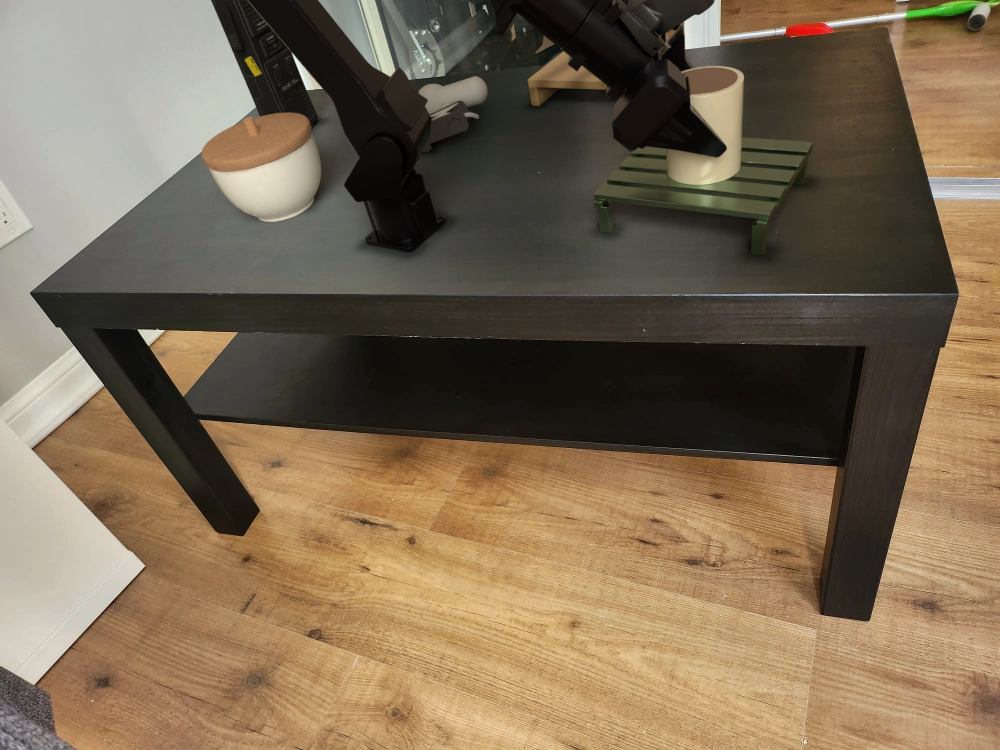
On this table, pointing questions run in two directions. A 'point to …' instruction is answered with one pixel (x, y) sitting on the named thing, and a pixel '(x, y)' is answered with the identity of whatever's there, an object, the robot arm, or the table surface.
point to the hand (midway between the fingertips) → (719, 130)
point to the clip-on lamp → (452, 106)
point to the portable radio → (264, 61)
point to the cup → (712, 126)
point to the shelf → (560, 79)
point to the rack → (711, 185)
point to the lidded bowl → (267, 165)
